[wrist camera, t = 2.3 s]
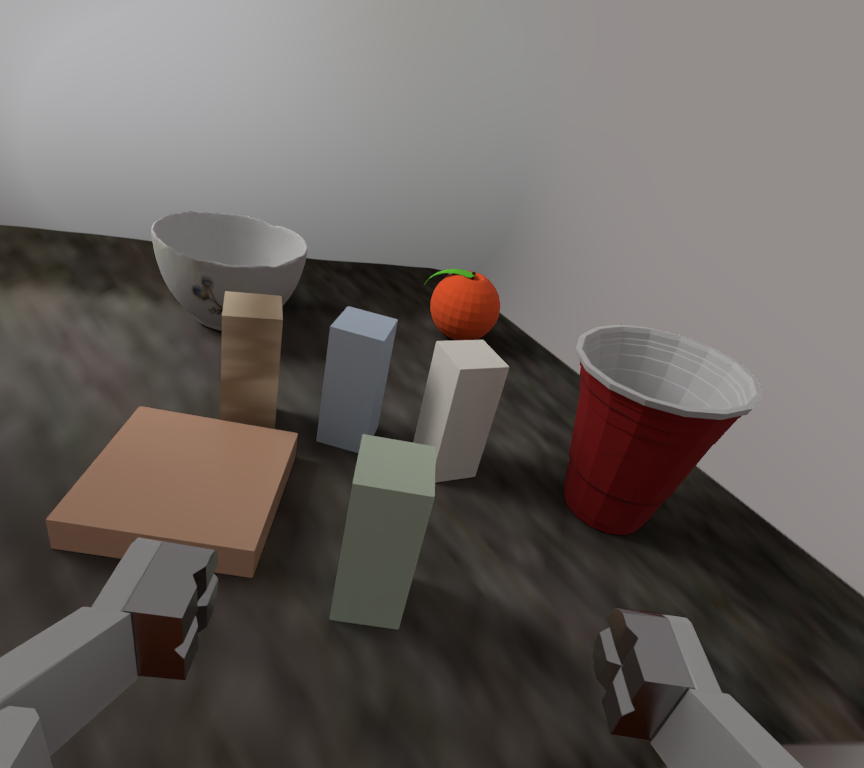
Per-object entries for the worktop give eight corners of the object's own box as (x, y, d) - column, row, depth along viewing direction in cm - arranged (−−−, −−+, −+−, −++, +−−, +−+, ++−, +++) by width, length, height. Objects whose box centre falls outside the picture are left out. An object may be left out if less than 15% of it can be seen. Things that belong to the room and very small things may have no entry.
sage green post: (329, 619, 28) (352, 483, 24) (340, 564, 31) (362, 433, 27) (398, 629, 29) (434, 497, 24) (402, 574, 32) (435, 446, 27)
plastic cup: (525, 441, 45) (574, 302, 39) (659, 475, 45) (730, 341, 39) (523, 540, 36) (588, 378, 30) (693, 585, 35) (794, 430, 29)
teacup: (292, 361, 48) (300, 272, 44) (134, 341, 46) (127, 246, 42) (308, 290, 61) (315, 216, 57) (184, 272, 59) (182, 194, 55)
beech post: (220, 436, 38) (221, 315, 34) (223, 406, 41) (225, 291, 37) (274, 437, 39) (282, 319, 35) (273, 407, 42) (281, 295, 38)
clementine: (406, 338, 56) (420, 270, 53) (423, 313, 62) (436, 250, 59) (485, 361, 55) (504, 293, 52) (494, 333, 61) (512, 270, 58)
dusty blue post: (316, 441, 40) (330, 326, 35) (333, 415, 43) (347, 306, 38) (364, 454, 40) (384, 341, 35) (377, 427, 43) (397, 319, 38)
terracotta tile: (51, 548, 29) (45, 519, 28) (141, 431, 37) (139, 406, 36) (252, 578, 30) (254, 551, 28) (295, 457, 38) (298, 433, 37)
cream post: (430, 483, 39) (460, 369, 34) (411, 450, 41) (436, 341, 37) (475, 476, 40) (509, 367, 36) (453, 445, 43) (483, 339, 38)
